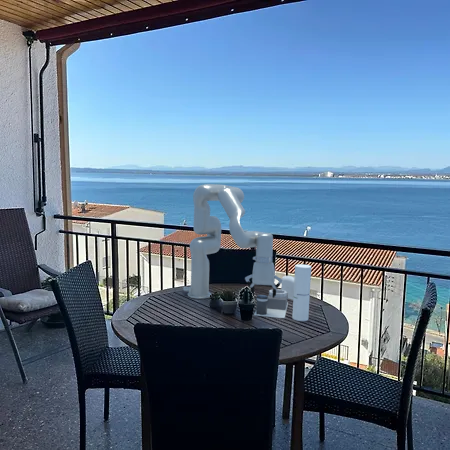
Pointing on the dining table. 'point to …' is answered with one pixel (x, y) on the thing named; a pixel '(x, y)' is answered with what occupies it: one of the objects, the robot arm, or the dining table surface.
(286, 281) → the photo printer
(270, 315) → the board
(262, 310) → the lens
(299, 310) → the cylindrical container
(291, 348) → the dining table surface
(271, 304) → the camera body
